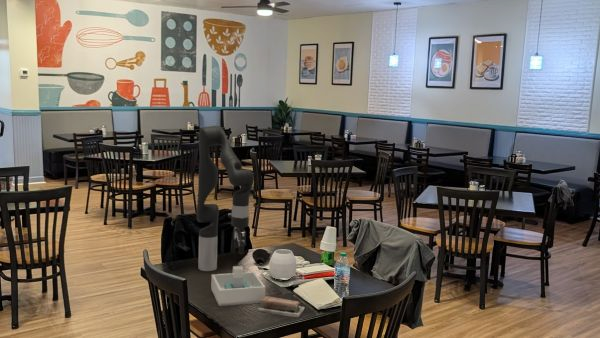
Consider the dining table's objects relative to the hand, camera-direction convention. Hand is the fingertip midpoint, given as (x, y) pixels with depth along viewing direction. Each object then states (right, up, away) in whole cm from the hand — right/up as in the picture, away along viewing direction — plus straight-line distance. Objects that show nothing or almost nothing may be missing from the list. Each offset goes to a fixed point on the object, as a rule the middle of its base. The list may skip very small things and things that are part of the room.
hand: (239, 251), depth 241 cm
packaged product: (+19, -24, -10) cm, 32 cm away
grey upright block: (-1, -19, +3) cm, 20 cm away
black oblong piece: (+7, -14, +53) cm, 55 cm away
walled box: (-1, -20, +3) cm, 21 cm away
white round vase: (+18, -18, +29) cm, 38 cm away
